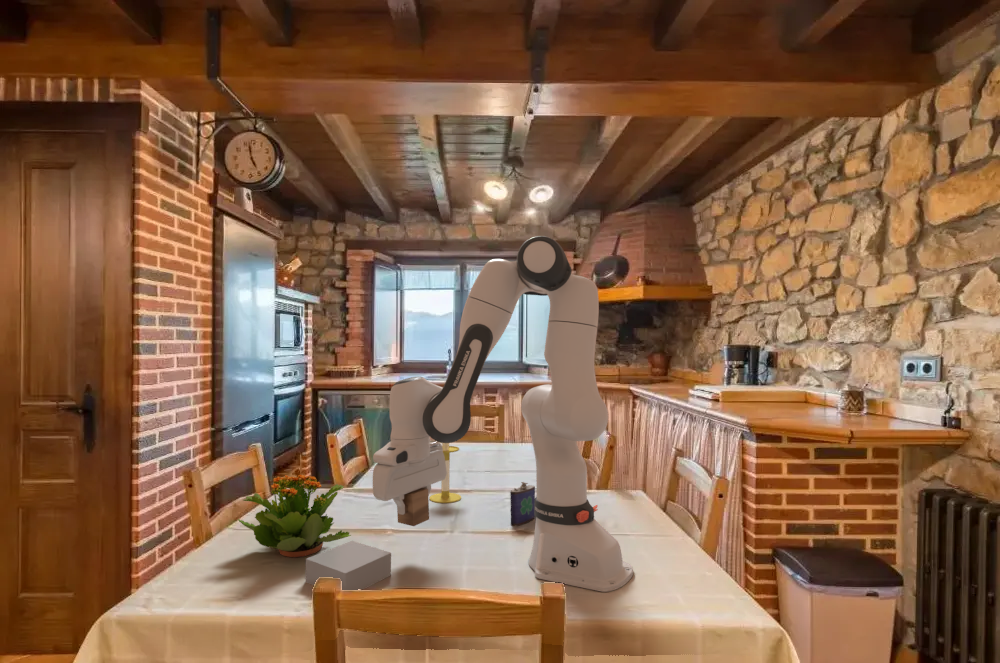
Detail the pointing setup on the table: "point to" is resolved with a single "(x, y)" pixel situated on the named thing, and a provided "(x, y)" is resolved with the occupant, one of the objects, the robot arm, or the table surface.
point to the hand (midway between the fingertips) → (413, 509)
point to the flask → (522, 504)
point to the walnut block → (415, 507)
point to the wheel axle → (446, 480)
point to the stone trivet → (350, 565)
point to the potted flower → (294, 517)
